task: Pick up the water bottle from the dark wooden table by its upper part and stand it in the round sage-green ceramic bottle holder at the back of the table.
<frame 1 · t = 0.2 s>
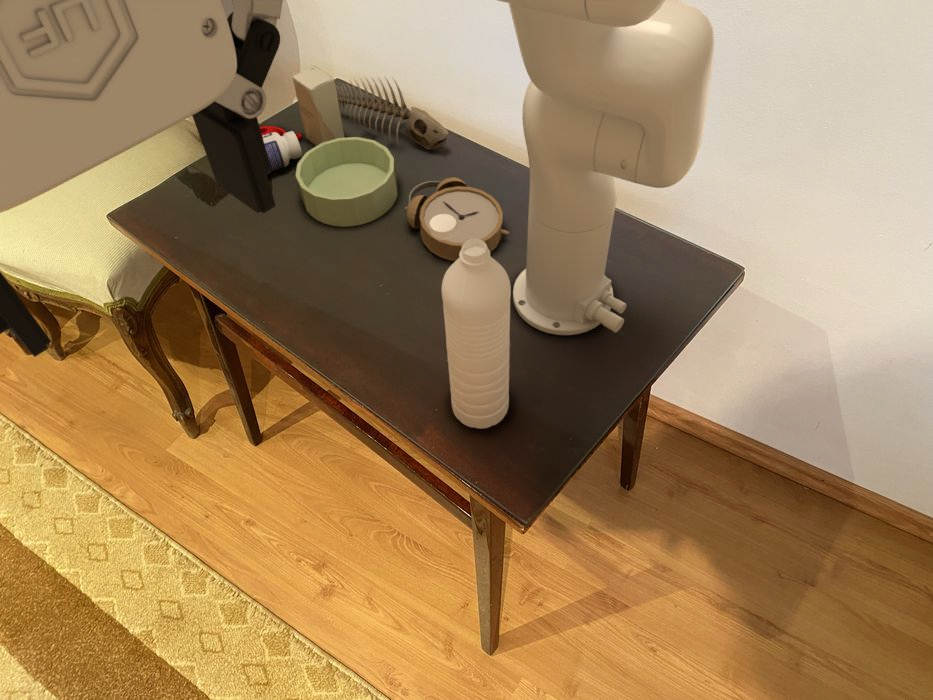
hand: (144, 259, 28), 50 cm above the table, tool pointing down, fingers open, 9 cm apart
holder: (350, 194, 108), on the table
alarm clock: (453, 228, 103), on the table
box: (326, 140, 116), on the table
pill bottle: (239, 162, 109), point 3 cm above the table
fish skeleton: (374, 129, 118), on the table
ornament: (236, 147, 115), on the table
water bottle: (473, 400, 85), on the table
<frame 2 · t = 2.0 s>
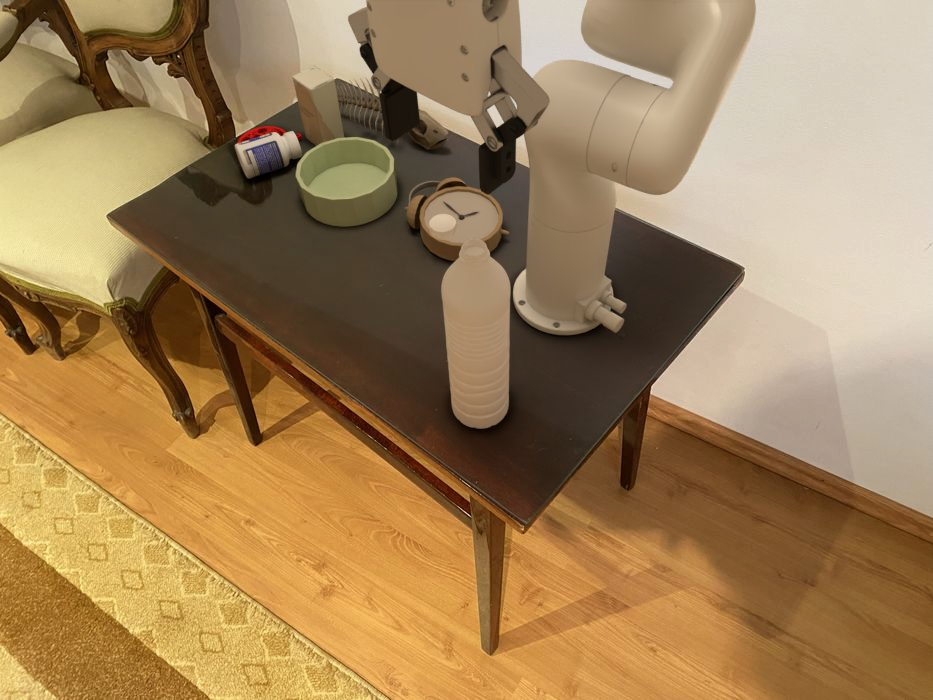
hand: (448, 156, 55), 36 cm above the table, tool pointing down, fingers open, 9 cm apart
nothing on the table moved.
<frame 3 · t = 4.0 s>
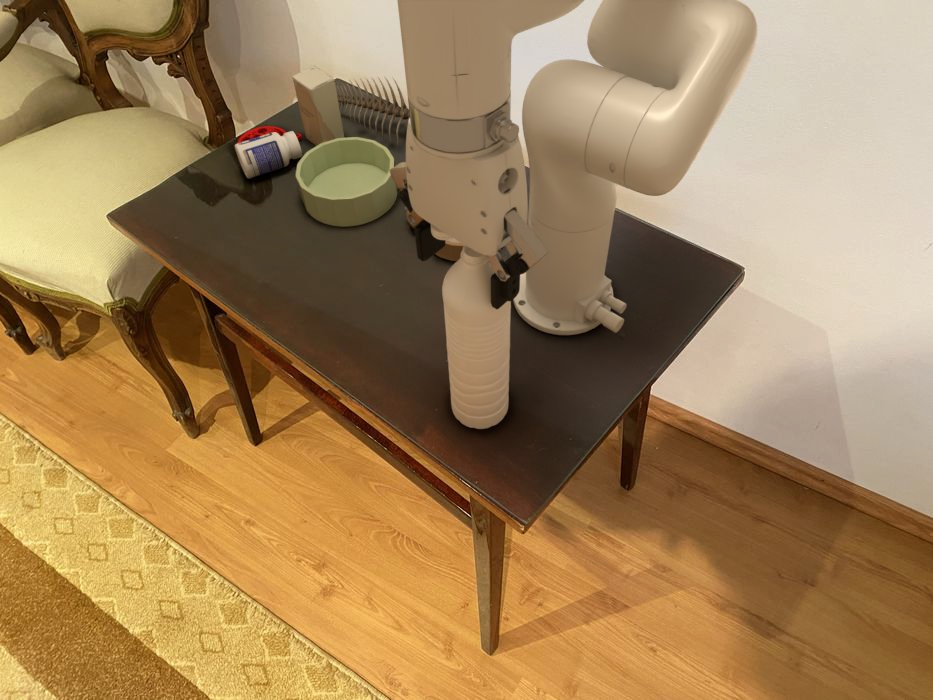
hand: (467, 274, 68), 21 cm above the table, tool pointing down, fingers closed on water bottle, 8 cm apart
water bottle: (473, 401, 85), on the table, touching gripper
everything else where it was.
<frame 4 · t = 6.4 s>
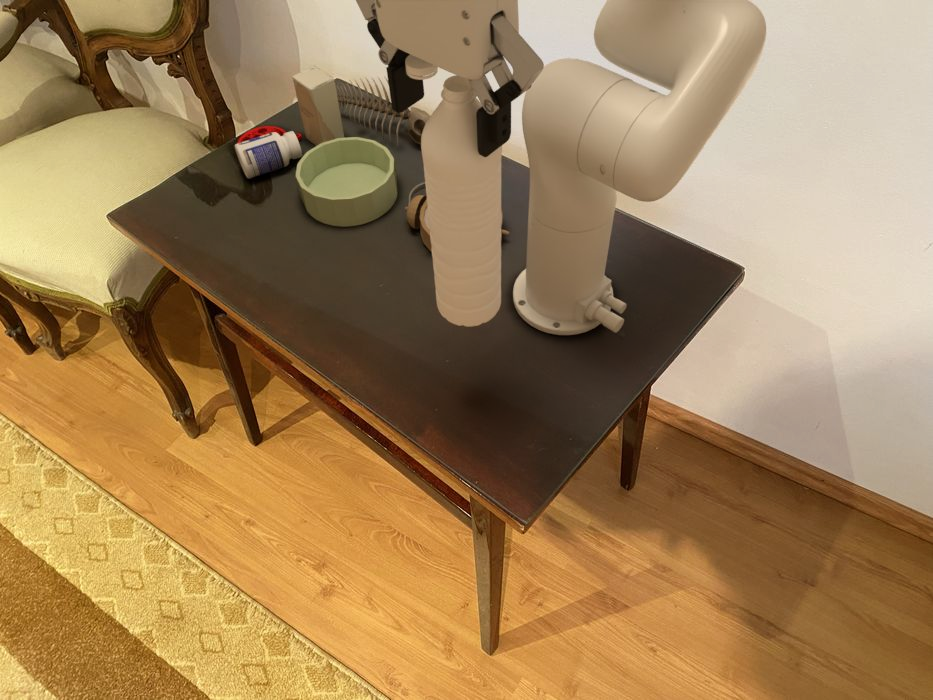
hand: (450, 124, 58), 35 cm above the table, tool pointing down, fingers closed on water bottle, 8 cm apart
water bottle: (461, 298, 75), point 14 cm above the table, touching gripper
everything else where it was.
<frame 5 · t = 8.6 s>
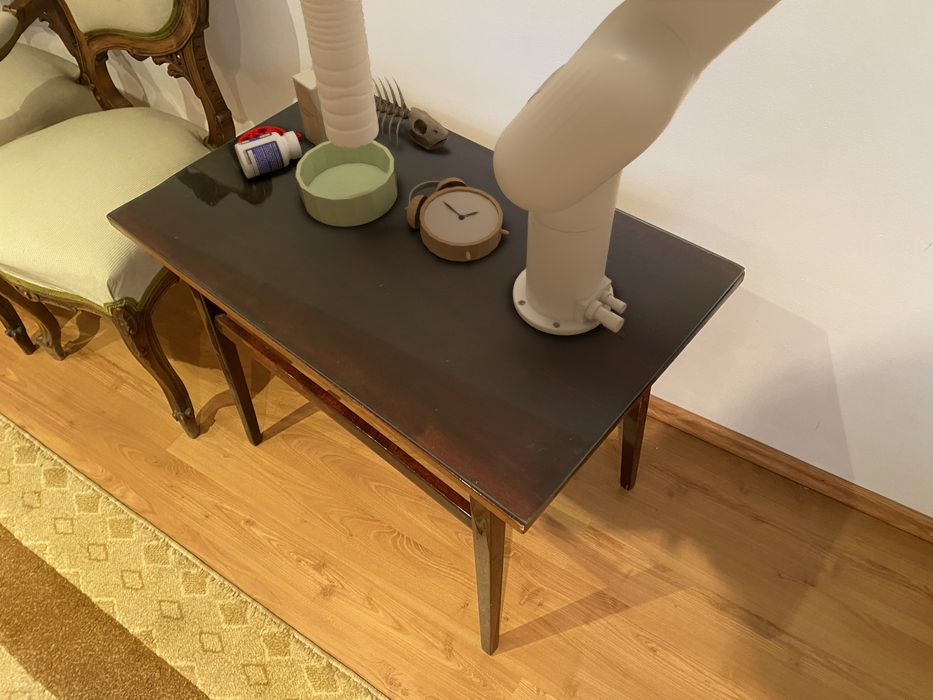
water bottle: (347, 130, 91), point 15 cm above the table, touching gripper
everything else where it was.
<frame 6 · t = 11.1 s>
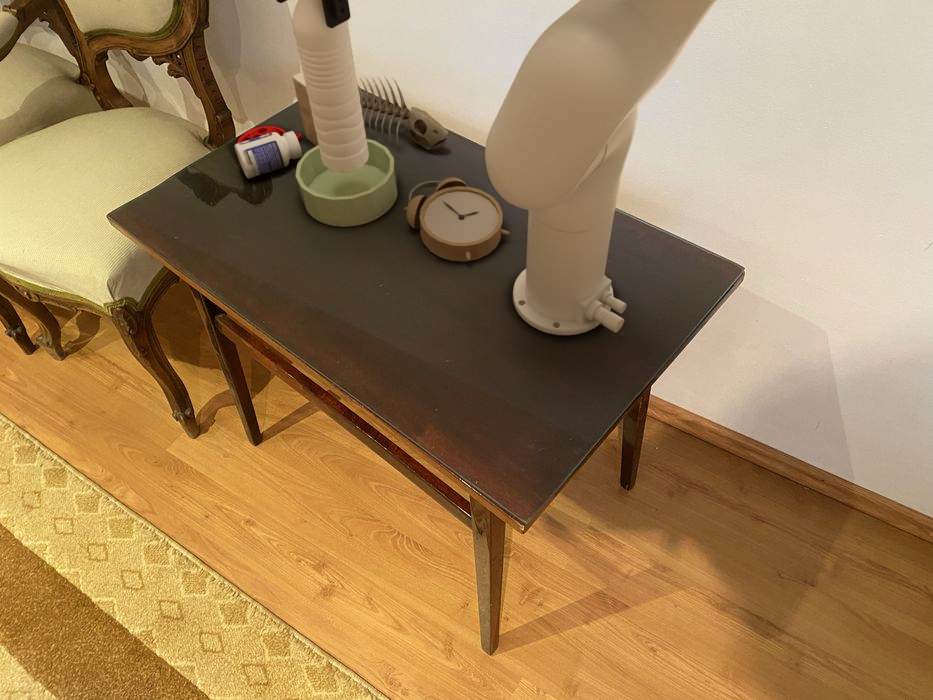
hand: (313, 10, 86), 28 cm above the table, tool pointing down, fingers closed on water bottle, 8 cm apart
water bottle: (341, 156, 102), point 7 cm above the table, touching gripper
everything else where it was.
when the fingers open (22 cm above the table, at t = 13.2 s): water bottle stays where it is, resting on holder.
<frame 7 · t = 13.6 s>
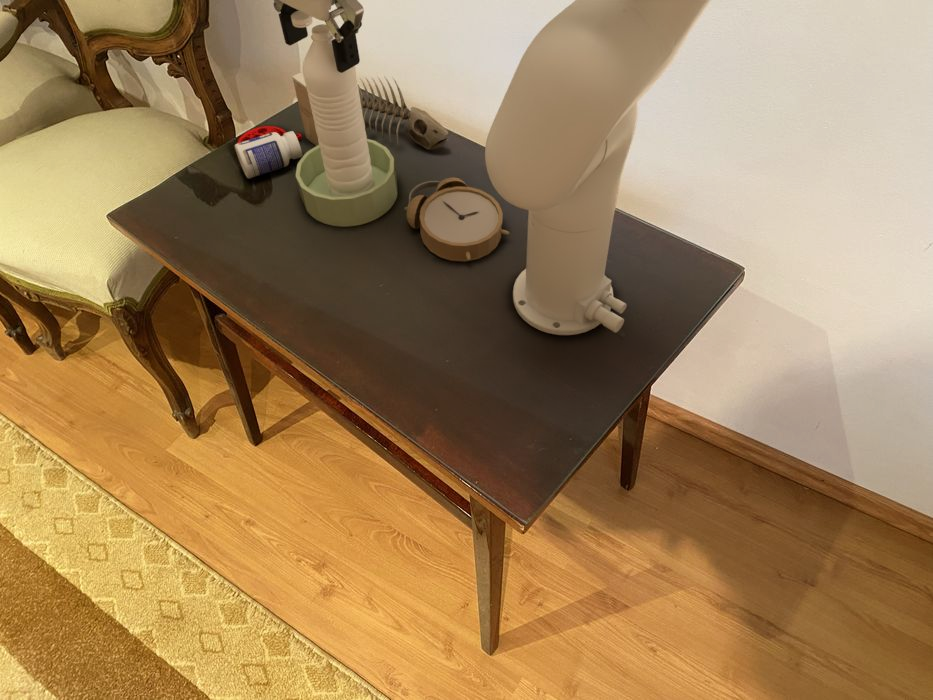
hand: (322, 53, 90), 22 cm above the table, tool pointing down, fingers open, 9 cm apart
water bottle: (348, 190, 107), point 1 cm above the table, touching holder
everything else where it was.
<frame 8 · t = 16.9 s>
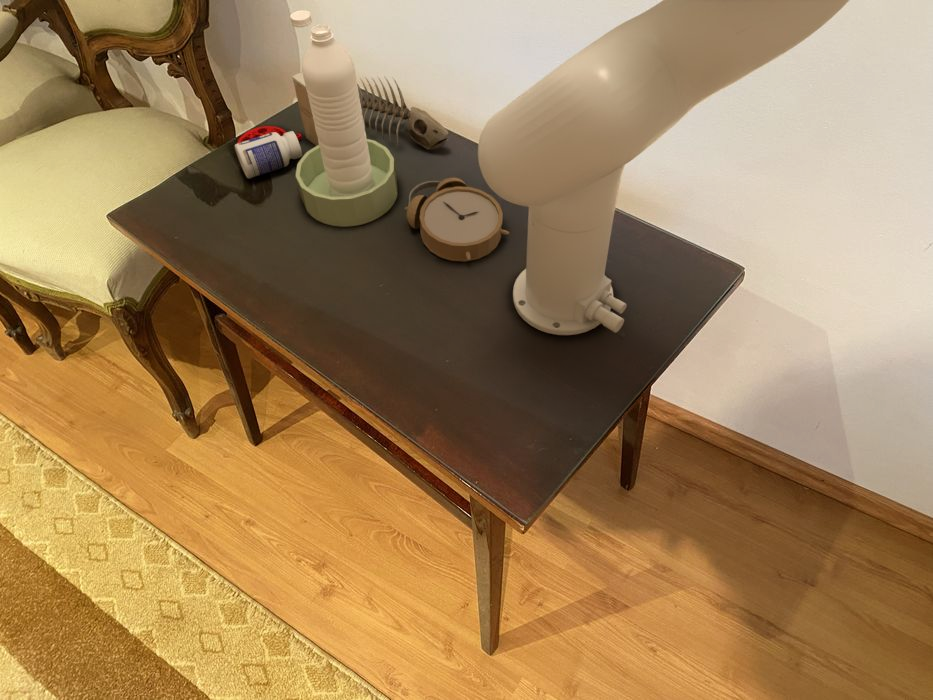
nothing on the table moved.
at the end: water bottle 0.2 cm off-centre in the holder, point 0.6 cm above the holder's base; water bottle tilted 0°; the gripper is holding nothing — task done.
